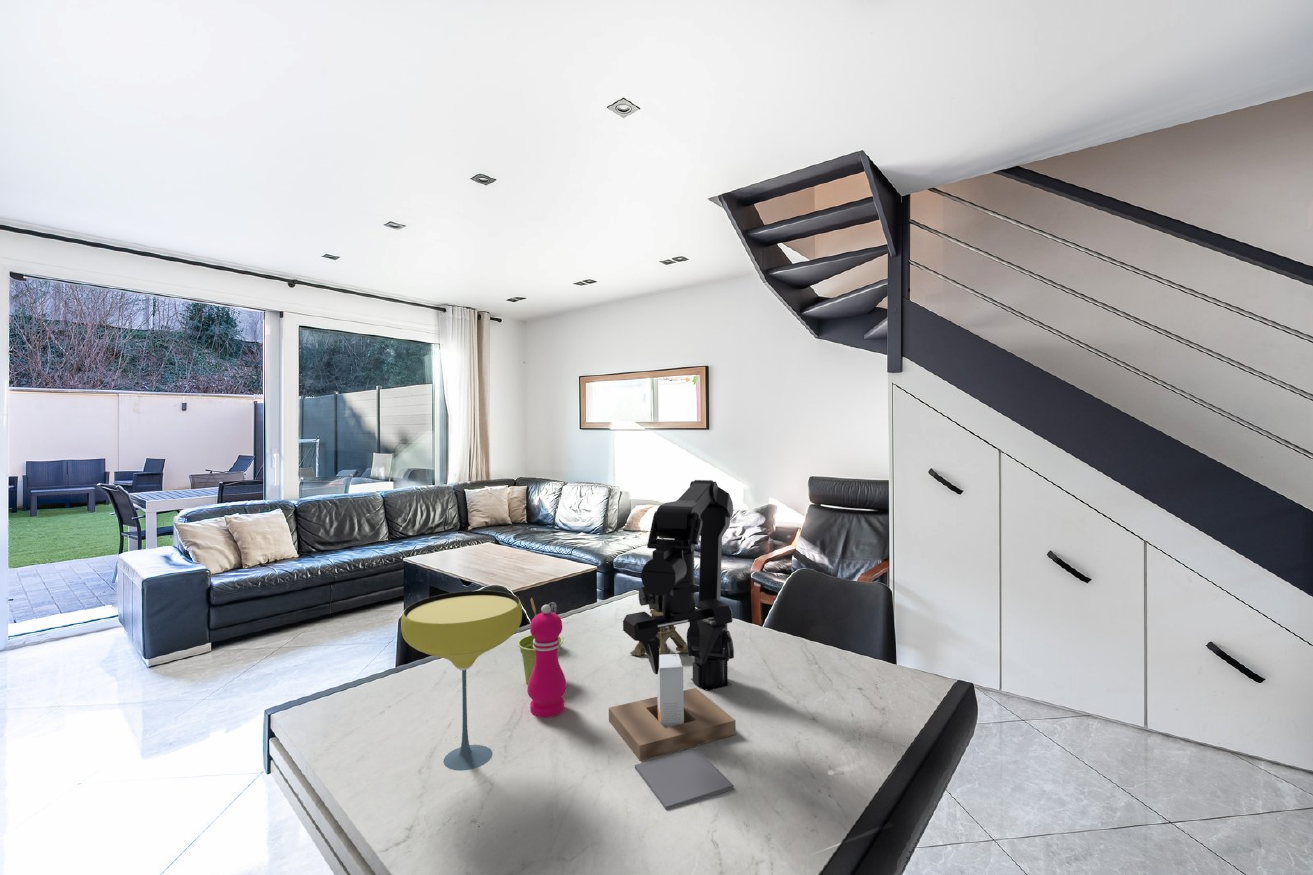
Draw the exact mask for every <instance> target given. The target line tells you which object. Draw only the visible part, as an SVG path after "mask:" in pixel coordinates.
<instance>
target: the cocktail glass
mask: <svg viewBox="0 0 1313 875" xmlns="http://www.w3.org/2000/svg"><path fill="white" fill-rule="evenodd" d="M522 620H523V609H522V602H521V599H520V598H519V597H518V596H516V595H515V594H512V593H509V592H504V591H497V590H466V591H456V592H450V593H449V592H447V593H443V594H438V595H433V596H430V597H426V598H423V599H421V600H418V601H416V602H414V603H412V604H409V605H408V606H407V607H405V609H404V610H403V612H402V614H401V621H400V623H401V624H400V630H401V634H402V638H403V639H404V641H405V642H406V644H408V645H409V646H410V647H412V648H413V649H415V650H416V651H418V652H421V653H423V654H426V655H429V656H433V657H435V658H436V657H437V658H441V659H446V660H448V661H450V662H451V663H452V665H453V666H454V667H455V668H456V669H457V670H459V671H461V677H462V678H461V680H462V681H461V682H462V683H461V684H462V685H461V686H462V689H461V690H462V692H461V693H462V726H461V727H462V733H461V735H462V736H461V744H460V745H461V746H459V747H457V748H455V749H453V750H452V751H449V752H448V753H447V754H446V755H445V757H444V758H443V766H444V767H446V768H447V769H449V770H452V771H456V772H457V771H458V772H459V771H464V772H465V771H470V770H474V769H478V768H481V767H482V766H484V765H486V764H487V763H489V762H490V760H491V759H492V757H493V750H492V749H491V748H490V747H488V746H486V745H482V744H481V745H480V744H470V742H469V734H468V731H469V730H468V704H467V696H468V695H467V670H469V669H470V668H471V667H472V666H473V664H474V663H475V662H476V660H477V659H478V658H479V657H480V656H482V655H483V654H485V653H487V652H489V651H491V650H493V649H494V648H496V647H497V646H500V645H501V644H503V643H504V642H506V641H507V640H509V639H510V638H511V637H512V636H513V635H514V634H515V633H516V632H517V630H518V629H519V628H520V626H521V624H522Z"/></svg>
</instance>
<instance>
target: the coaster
mask: <svg viewBox="0 0 1313 875" xmlns="http://www.w3.org/2000/svg"><path fill="white" fill-rule="evenodd" d="M634 770H636V772H637V773H638V774H639V776H640V777H641V778H642V780H643V781H644V783H645V784H646V785H647V787H648V788H649V789H650V791H651V792H652V793H653V795H654V796H655V797H656V799H657V800H658V801H659V803H660V804H661V806H662V807H663V808H664V810H665V811H667V810H670V809H673V807H674V808H677V807H680V806H683V805H686V804H687V805H688V804H690V803H694V802H697V801H699V800H700V801H701V800H703V799H706V798H710V797H714V796H717V795H719V794H723V793H725V792H730V791H732V790H735V789H734V784H733V783H732V781H730V780H729V778H728V777H727V776H725V775H724V773H722V772H721V771H720V769H719V768H717V766H715V765H714V763H713V762H712V761H711V760H709V758H708V757H707V756H705V754H703V753H702V751H701V750H700V749H699V748H698V747H694V748H690V749H685V750H683V751H680V752H676V753H671V754H667V755H665V756H662V757H659V758H655V759H651V760H648V761H644V762H640V763H636V764H634ZM676 806H677V807H676Z"/></svg>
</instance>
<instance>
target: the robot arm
mask: <svg viewBox="0 0 1313 875" xmlns="http://www.w3.org/2000/svg"><path fill="white" fill-rule="evenodd" d="M733 515H734V503H733V500H732V498H731V495H730V493H729V492H728V491H726V490H725V489H722V488H721V487H719V485H718V483H717V481H714V480H712V479H694V480H693V481H691V482H690V484H689V487H688V488H687V489H686V490H685V491H684V493H682V495H680V497H679V498H678V499H677V500H674V501H668V502H664V503H662V504H661V505H659V506H658V507H657V508H656V511H654V514H653V517H652V521H651V525H650V526H651V527H650V530H649V534H648V539H647V545H646V546H647V549H654V550H652V557H651V559H649V560H648V561H646V563H645V564H644V565H643V567H642V569H641V573H640V577H641V578H640V580H641V583H642V585H643V586H641V587H638V602H639V605H640V606H647V605H648V609H649V611H651V610H653V609H655V608H656V611H657V612H658V613H659V612H661V613H662V615H661V616H655V617H652V615H650V614H649V613H648V612H646V611H641V612H634V613H628V614H625V617H624V619H623V620H622V631H623V632H624V633H625V634H627V635H628V637H630V638H631V639H632V640H633V641H636V642H638V643H639V642H640V643H641V644H642V645H643V647H644V649H645V651H646V653H645V654H646V656H647V659H648V661H649V664H650V668H651V669H652V672H653V673H654V675H657V674H658V670H659V653H660V639H659V638H657V637H656V635H657V634H658V628H662V627H667V626H672V625H674V626H675V625H682V624H685V623H689V626H688V628H687V632H686V644H687V646H688V652H687V654H688V657H694V658H693V659H694V660H693V662H692V678H690V680H691V681H692V683H693V684H694V685H696V686H697V687H698V688H701V689H702V691H705V692H709V691H712V690H717V689H721V688H726V687H730V686H732V683H731V682H729V676H728V674H729V673H728V672H729V670H728V668H729V667H728V662H729V660H731V659H734V658H735V648H734V641H733V639H732V636H731V632H730V630H728V624H731V623H733V610H732V608H731V607H730V605H728V604H726V603H725V602H723V601H721V591H722V590H721V588H722V586H721V585H722V554H723V553H722V551H723V550H722V549H723V548H722V546H723V537H724V535H725V534H726V532H727V530H728V529H729V527H730V526H731V518H733ZM699 541H700V542H699ZM699 543H700V547H699V571H698V572H699V577H698V578H699V579H698V584H695V548H696V545H699ZM696 593H698V601H697V602H698V603H697V604H696ZM696 605H697V607H696Z"/></svg>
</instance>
